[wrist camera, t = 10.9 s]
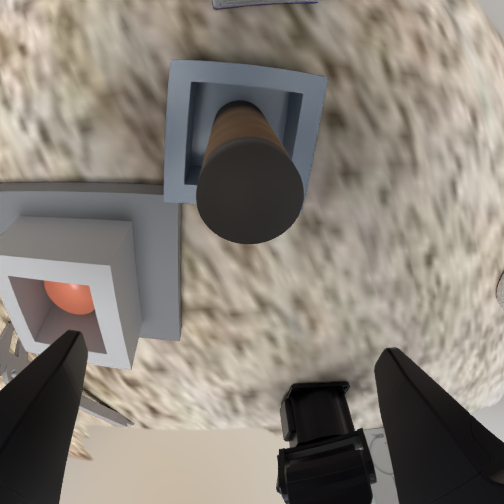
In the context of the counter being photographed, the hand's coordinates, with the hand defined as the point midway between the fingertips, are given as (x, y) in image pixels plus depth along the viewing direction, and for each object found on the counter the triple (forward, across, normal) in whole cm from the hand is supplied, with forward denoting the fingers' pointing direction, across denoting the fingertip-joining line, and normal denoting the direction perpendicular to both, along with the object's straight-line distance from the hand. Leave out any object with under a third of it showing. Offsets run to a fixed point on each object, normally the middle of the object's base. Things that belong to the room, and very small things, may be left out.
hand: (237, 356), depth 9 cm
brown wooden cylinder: (+12, 0, -4) cm, 13 cm away
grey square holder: (+12, +10, +6) cm, 17 cm away
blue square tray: (+12, 0, -4) cm, 13 cm away
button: (+11, +10, +6) cm, 16 cm away
